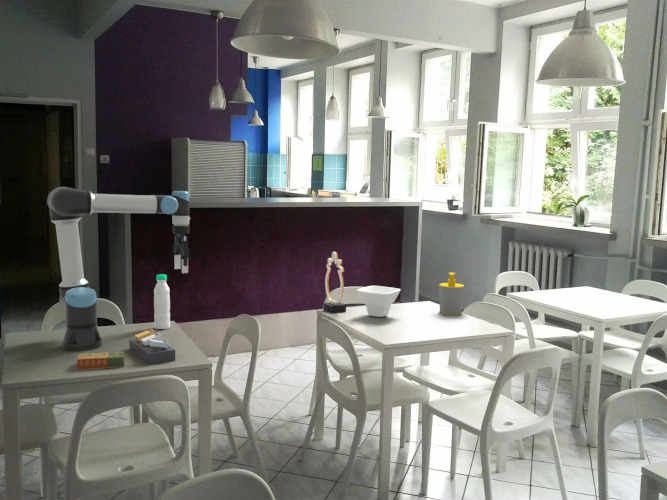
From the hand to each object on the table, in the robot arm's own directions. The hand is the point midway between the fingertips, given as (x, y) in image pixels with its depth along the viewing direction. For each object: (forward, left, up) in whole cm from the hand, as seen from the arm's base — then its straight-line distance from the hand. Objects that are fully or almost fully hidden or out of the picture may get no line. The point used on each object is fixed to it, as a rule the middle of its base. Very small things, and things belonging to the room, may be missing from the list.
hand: (181, 270), depth 284 cm
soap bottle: (+134, -41, -27) cm, 142 cm away
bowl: (+94, -29, -27) cm, 102 cm away
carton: (-46, -40, -27) cm, 67 cm away
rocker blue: (-26, -44, -20) cm, 55 cm away
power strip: (-26, -32, -26) cm, 49 cm away
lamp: (+82, -7, -27) cm, 86 cm away
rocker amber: (-26, -29, -20) cm, 44 cm away
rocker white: (-26, -36, -20) cm, 49 cm away
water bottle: (-8, +3, -27) cm, 28 cm away
